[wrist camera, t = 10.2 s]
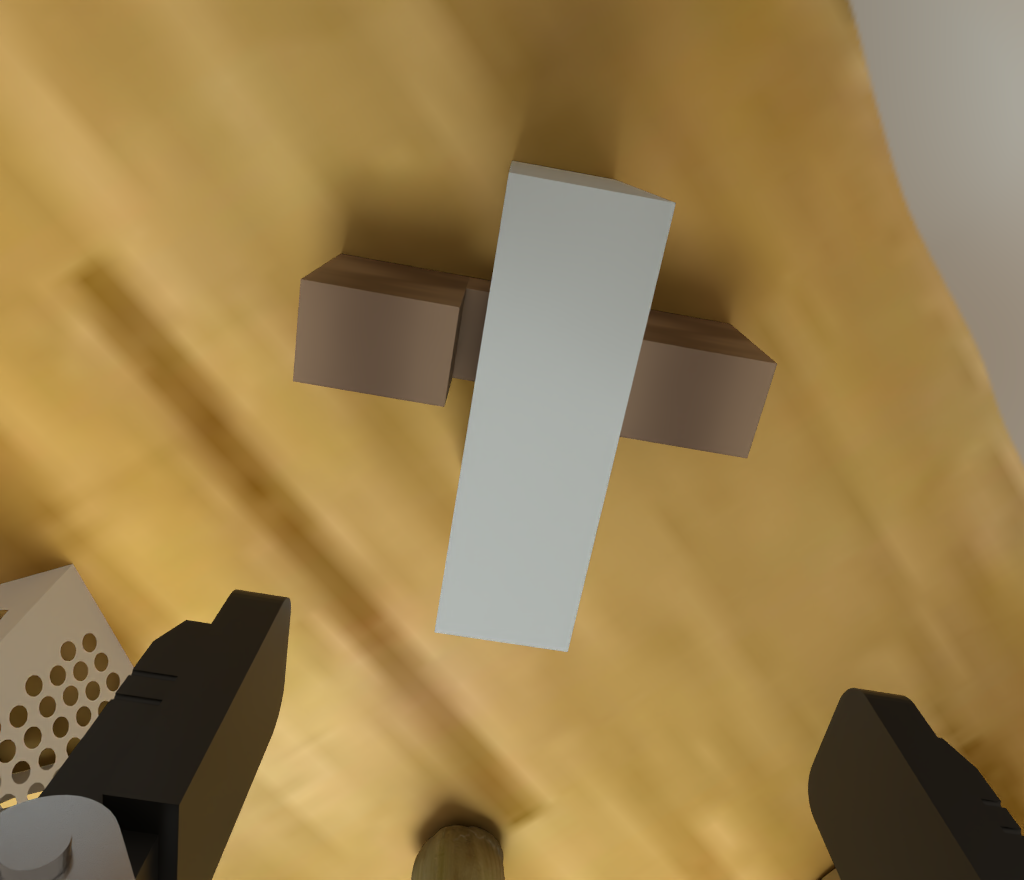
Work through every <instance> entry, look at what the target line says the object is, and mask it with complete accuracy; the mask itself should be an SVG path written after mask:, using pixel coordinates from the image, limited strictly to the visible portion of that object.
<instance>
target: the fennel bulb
mask: <svg viewBox="0 0 1024 880" xmlns="http://www.w3.org/2000/svg"><path fill="white" fill-rule="evenodd" d="M411 880H505V877H504V867H503V851H502V849H501V847H500V845H499V843H498V841H497V840H496V839H495V838H494V837H493V836H492V835H491V834H490V833H489V832H488V831H485V830H483V829H481V828H478V827H475V826H471V827H465V826H461V825H451V826H447V827H444V828H441V829H440V830H439V831H438V832H437V833H436V834H435V835H434V836H433V837H431V838H430V839H429V840H428V841H427V842H426V843H425V844H424V845H423V847H422V848H421V850H420V851H419V853H418V855H417V857H416V860H415V863H414V866H413V871H412V878H411Z"/></svg>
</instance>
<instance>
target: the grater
mask: <svg viewBox="0 0 1024 880" xmlns="http://www.w3.org/2000/svg"><path fill="white" fill-rule="evenodd" d="M0 610H8V611H7V613H6V614H5V615H4V616H3V617H2V618H1V619H0V724H1V732H0V743H1V742H2V741H4V740H12V741H13V742H14V743H15V746H16V753H15V756H14V757H13V759H12V760H11V761H9V762H8V763H2V762H1V761H0V804H1V803H3V802H5V801H7V800H10V799H12V798H16V800H17V804H20V803H22V802H25V801H28V799H27V795H28V794H32V793H36V792H40V791H44V789H45V788H46V787H47V785H48V784H49V783H50V781H51V780H52V779H53V777H54V776H55V774H56V773H57V772H58V770H59V769H60V768H61V766H62V765H63V764H64V762H65V761H66V759H67V758H68V757H69V756H68V754H67V751H66V748H67V744H68V742H69V740H70V739H72V738H73V737H78V738H79V739H80V740H81V739H82V738H83V736H84V735H85V734H86V732H87V731H88V730H89V728H90V727H91V725H92V724H93V723H94V721H95V720H96V719H97V717H98V716H99V715H98V707H99V705H100V703H102V702H103V701H108V702H109V701H110V700H111V699H114V697H115V693H116V691H117V690H118V689H119V687H120V686H121V685H122V683H123V682H124V681H125V679H126V678H127V676H128V675H131V674H132V671H133V668H134V667H133V665H132V664H131V662H130V660H129V659H128V657H127V655H126V653H125V652H124V650H123V648H122V647H121V645H120V643H119V642H118V640H117V638H116V636H115V635H114V633H113V631H112V630H111V628H110V626H109V624H108V623H107V621H106V619H105V618H104V616H103V614H102V613H101V611H100V609H99V607H98V606H97V604H96V602H95V601H94V599H93V597H92V596H91V594H90V592H89V590H88V589H87V587H86V585H85V584H84V582H83V580H82V578H81V577H80V575H79V573H78V572H77V570H76V568H75V567H74V565H73V564H71V565H67V566H64V567H60V568H56V569H53V570H49V571H46V572H42V573H38V574H35V575H31V576H28V577H24V578H21V579H17V580H13V581H10V582H6V583H3V584H0ZM88 633H92V634H93V635H94V636H95V637H96V640H97V646H96V648H95V650H94V651H92V652H87V651H85V650H84V648H83V645H82V640H83V638H84V636H85V635H86V634H88ZM67 641H70V642H72V643H73V644H74V645H75V648H76V655H75V657H74V658H73V659H72V660H71V661H65V660H64V659H63V658H62V656H61V653H60V651H61V646H62V645H63V643H65V642H67ZM99 653H104V654H106V655H107V658H108V666H107V668H106V670H104V671H103V672H101V671H98V670H97V669H96V668H95V665H94V659H95V657H96V655H97V654H99ZM79 661H82V662H85V663H86V664H87V667H88V675H87V677H86V679H84V680H83V681H78V680H76V679H75V678H74V675H73V668H74V666H75V664H76V663H77V662H79ZM56 665H59V666H62V667H63V668H64V669H65V672H66V679H65V681H64V683H63V684H61V685H60V686H55V685H54V684H52V683H51V680H50V672H51V670H52V668H53V667H55V666H56ZM112 672H114V673H117V674H118V675H119V678H120V685H119V687H118V689H117V690H116V691H110V690H109V689H108V688H107V685H106V680H107V677H108V675H109V674H110V673H112ZM32 675H37V676H39V677H40V678H41V680H42V683H43V687H42V691H41V692H40V694H39V695H37V696H35V697H33V696H29V695H28V694H27V692H26V689H25V684H26V681H27V679H28V678H29V677H31V676H32ZM91 681H96V682H97V683H98V684H99V687H100V694H99V696H98V698H97V699H96V700H94V701H92V700H89V699H88V698H87V696H86V693H85V691H86V686H87V684H88V683H89V682H91ZM68 686H74V687H76V688H77V690H78V693H79V695H78V700H77V702H76V704H74V705H73V706H67V705H66V704H65V703H64V700H63V692H64V690H65V689H66V688H67V687H68ZM46 696H51V697H52V698H53V699H55V702H56V710H55V712H54V714H53V715H52V716H50V717H43V716H42V715H41V714H40V711H39V704H40V702H41V700H42V699H43V698H44V697H46ZM17 705H22V706H24V707H25V708H26V710H27V713H28V717H27V721H26V723H25V724H24V725H23V726H21V727H20V728H15V727H14V726H12V725H11V723H10V720H9V716H10V712H11V710H12V709H13V708H14V707H16V706H17ZM82 706H87V707H88V708H89V709H90V711H91V720H90V722H89V724H88V725H86V726H85V727H84V726H80V725H79V724H78V723H77V720H76V713H77V711H78V710H79V708H81V707H82ZM58 717H65V718H66V719H67V720H68V723H69V730H68V732H67V734H66V735H65V736H64V737H62V738H57V737H56V736H55V735H54V733H53V723H54V722H55V720H56V719H57V718H58ZM30 727H38V728H39V729H40V731H41V734H42V738H41V742H40V744H39V745H38V746H37V747H36V748H34V749H29V748H28V747H26V746H25V743H24V734H25V733H26V731H27V729H29V728H30ZM46 748H51V749H53V750H54V752H55V755H56V760H55V763H54V764H50V765H46V766H42V767H40V765H39V763H38V762H39V756H40V754H41V752H42V751H43V750H44V749H46ZM19 761H26V762H27V763H28V764H29V766H30V770H26V771H22V772H18V773H14V774H12V770H13V768H14V766H15V764H17V763H18V762H19ZM8 808H10V807H8ZM8 808H4V809H3V808H2V807H1V806H0V812H2V811H4V810H6V809H8Z"/></svg>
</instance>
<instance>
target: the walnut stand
mask: <svg viewBox="0 0 1024 880" xmlns="http://www.w3.org/2000/svg"><path fill="white" fill-rule="evenodd" d="M490 287H491V281H489V280H483V279H478V278H472V277H467V276H461V275H456V274H450V273H445V272H439V271H433V270H428V269H422V268H417V267H411V266H406V265H400V264H395V263H389V262H384V261H378V260H372V259H367V258H361V257H356V256H350V255H345V254H340V255H338V256H336V257H335V258H333V259H332V260H330V261H329V262H327V263H325V264H324V265H322V266H321V267H319V268H318V269H316V270H314V271H313V272H311V273H310V274H308V275H307V276H305V277H303V278H302V279H301V284H300V297H299V310H298V323H297V336H296V350H295V363H294V376H293V381H295V382H301V383H307V384H313V385H318V386H324V387H330V388H336V389H342V390H348V391H354V392H360V393H366V394H371V395H377V396H383V397H389V398H395V399H401V400H407V401H413V402H419V403H424V404H430V405H436V406H442V407H444V406H445V402H446V399H447V395H448V391H449V388H450V384H451V380H452V378H458V379H464V380H469V381H475V379H476V373H477V367H478V361H479V354H480V348H481V342H482V336H483V330H484V324H485V317H486V311H487V305H488V299H489V293H490ZM776 366H777V363H776V362H774V361H773V360H772V359H771V358H770V357H768V356H767V355H766V354H765V353H764V352H763V351H761V350H760V349H759V348H758V347H757V346H756V345H754V344H753V343H752V342H751V341H750V340H749V339H747V338H746V337H745V336H744V335H743V334H742V333H740V332H739V331H738V330H737V329H736V328H734V327H733V326H732V325H731V324H728V323H722V322H716V321H711V320H705V319H700V318H694V317H689V316H683V315H678V314H672V313H667V312H661V311H655V310H650V312H649V316H648V320H647V324H646V328H645V333H644V337H643V341H642V345H641V349H640V353H639V357H638V362H637V366H636V370H635V374H634V378H633V382H632V387H631V391H630V395H629V399H628V403H627V407H626V411H625V416H624V420H623V424H622V428H621V432H620V436H619V437H625V438H631V439H637V440H642V441H648V442H654V443H660V444H666V445H672V446H678V447H684V448H690V449H695V450H701V451H707V452H713V453H719V454H725V455H731V456H737V457H743V458H747V457H748V454H749V451H750V448H751V445H752V442H753V438H754V435H755V432H756V429H757V426H758V423H759V419H760V416H761V413H762V410H763V407H764V404H765V400H766V397H767V394H768V391H769V388H770V385H771V381H772V378H773V375H774V372H775V369H776Z"/></svg>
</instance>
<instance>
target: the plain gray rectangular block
mask: <svg viewBox="0 0 1024 880" xmlns="http://www.w3.org/2000/svg"><path fill="white" fill-rule="evenodd" d="M675 204H676V203H675V202H672V201H669V200H667V199H664V198H662V197H659V196H656V195H654V194H651V193H649V192H646V191H643V190H641V189H638V188H636V187H633V186H630V185H628V184H625V183H623V182H620V181H617V180H615V179H609V178H604V177H598V176H593V175H588V174H582V173H577V172H571V171H566V170H560V169H555V168H550V167H544V166H539V165H533V164H528V163H523V162H517V161H512V163H511V166H510V170H509V175H508V182H507V188H506V194H505V200H504V206H503V212H502V219H501V225H500V231H499V237H498V243H497V249H496V256H495V262H494V268H493V274H492V280H491V287H490V293H489V299H488V305H487V311H486V317H485V324H484V330H483V336H482V342H481V348H480V354H479V361H478V367H477V373H476V379H475V385H474V392H473V398H472V404H471V410H470V416H469V422H468V429H467V435H466V441H465V447H464V453H463V460H462V466H461V472H460V478H459V484H458V490H457V497H456V503H455V509H454V515H453V521H452V527H451V534H450V540H449V546H448V552H447V558H446V565H445V571H444V577H443V583H442V589H441V595H440V602H439V608H438V614H437V620H436V626H435V632H436V633H443V634H450V635H456V636H463V637H470V638H477V639H483V640H490V641H497V642H504V643H510V644H517V645H524V646H531V647H537V648H544V649H551V650H558V651H565V652H568V648H569V644H570V640H571V636H572V631H573V627H574V623H575V619H576V615H577V611H578V606H579V602H580V598H581V594H582V590H583V586H584V582H585V577H586V573H587V569H588V565H589V561H590V557H591V553H592V548H593V544H594V540H595V536H596V532H597V528H598V523H599V519H600V515H601V511H602V507H603V503H604V499H605V494H606V490H607V486H608V482H609V478H610V474H611V470H612V465H613V461H614V457H615V453H616V449H617V445H618V440H619V436H620V432H621V428H622V424H623V420H624V416H625V411H626V407H627V403H628V399H629V395H630V391H631V387H632V382H633V378H634V374H635V370H636V366H637V362H638V357H639V353H640V349H641V345H642V341H643V337H644V333H645V328H646V324H647V320H648V316H649V312H650V308H651V304H652V299H653V295H654V291H655V287H656V283H657V279H658V275H659V270H660V266H661V262H662V258H663V254H664V250H665V245H666V241H667V237H668V233H669V229H670V225H671V221H672V216H673V212H674V208H675Z"/></svg>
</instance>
